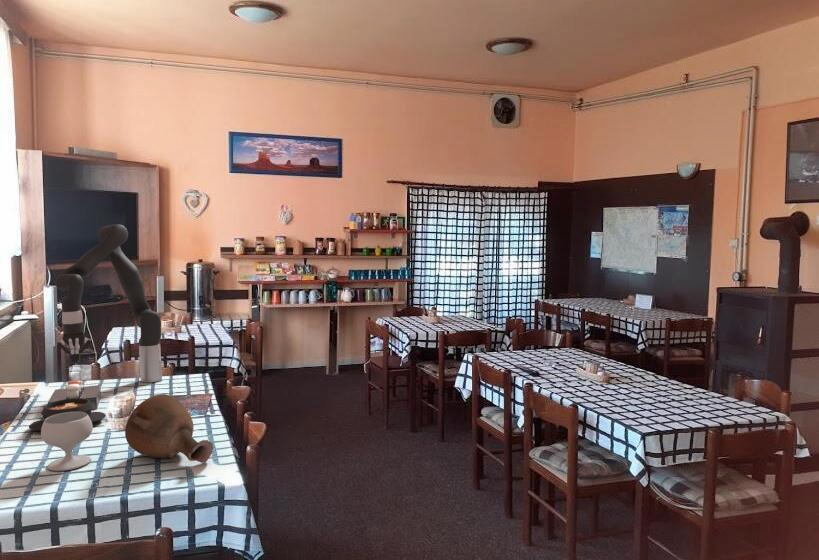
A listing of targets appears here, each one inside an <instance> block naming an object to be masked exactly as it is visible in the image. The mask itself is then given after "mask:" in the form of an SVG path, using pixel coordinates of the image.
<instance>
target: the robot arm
mask: <svg viewBox="0 0 819 560" xmlns="http://www.w3.org/2000/svg"><path fill="white" fill-rule="evenodd" d="M128 237H129V231H128V229H127V227H125V225H122V224H119V223H115V224H114V223H113V224H110V225H105V226H102V227H100V229H99V230H98V239H99V243H98V244H97V245H95V246H94V247H92V248H91V249H89V250H88V251H86V252H85V253H84V254H83V255H81V257H80V258H78V260H77V261H76V262H75V263H74V264H73V265H71V266H69V267H68V268H66V269H65V270H64V271H62V272H61V273H60V274H58V276H57V277H56V280H55V286H56V288H57V289H58V290H60V291H65V292H66V291H67V296H64V297H62V298H61V312H62V313H61V323H62V332H63V335H62V337H61V340H59V341H58V342H57V343H56V344H57V346H58V347H59V348H60V349H61V350H62V351H64V353H66V354H70V355H71V356H70V357H71V362H72V363H73V364H78V363H79V362H80V360H81V357H80V354H81V353H83V352H84V351H85V350H86V348H88V346H89V345H90V344H91V341H92V339H91V338H88V337H86V334H85V331H84V318H83V312H82V301H81V299H82V297H83V291H84V287H85V286H84V279H83V278H86V277H88V276H89V275H90V274H92V272H93V271H94V270H95V269H96V267H97V266H99V265H100V264H101V262H102V261H104V260H105V259H106V258H107V257H108V258H109V261H110V262H111V265H112V266H113V269H114V271H115V273H116V276H117V279H118V281H119V283H120V286H121V288H122V290H123V292H124V295H125V296H126V298H127V300H128V303H129V305H130V308H131V311H132V315H133V317H134V321H135V323H136V325H137V327H139V328H140V337H139V339H138V351H139V353H138V355H139V368H140V369H139V370H140V371H139V372H140V382H141V383H145V384H146V383H155V382H156V383H157V382H160V381H163V371H162V369H163V368H162V357H161V355H162V353H161V338H162V320H161V316H160V315H159V313H158V312H156V311H153V310H152V309H151V307H150V305H149V303H148V301H147V298H146V293H145V286H144V280H143V279H142V276H141V273H140V271H139V269H138V267H137V266H136V264H135V263H133V262H132V261H131V260H130V259H129V258H128V257H127V256H126V255H125V253H124V252H123V251H122V248H121V246H122V244H124V243H125V242H126V241H127V240H128ZM83 342H84V345H83V346H82V347H81V348H80V345H81V344H82V343H83ZM65 344H66V345H67V346H68V347H69V348H68V347H67V346H66V345H65Z"/></svg>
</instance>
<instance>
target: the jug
mask: <svg viewBox="0 0 819 560" xmlns="http://www.w3.org/2000/svg"><path fill="white" fill-rule="evenodd" d="M193 421H194V420H193V418H192V416H191V414H190V413H189V411H188V410H187V408H186V407H185V405H184V404H183V403H181V402H180V401H179V400H178V399H177V398H175V397H174V396H172V395H170V394H167V393H160V394H159V393H158V394H155V395H152V396H150V397H148V398H146V399H144V400H143V401H141V402H140V403H139V404H138V405H137V406H136V407H135V408H134V409H133V411H132V412H131V413H130V415H129V416H128V418H127V421H126V425H125V428H124V434H125V440H126V442H127V444H128V446H129V447H130V448H131V449H132V450H134V451H135V452H137V453H138V454H140V455H142V456H145V457H150V458H155V459H159V458H160V459H164V458H169V459H172V458H173V457H174V456H176V455H177V454H179V453H181V454H183V455H184V457H186V458H187V460H188V461H190V462H195V461H197V462H198V463H200V464H202V463H203V464H204V463H207V461H208V460H209V459H210V457H211V455H212V454H213V452H214V451H213V450H214V445H213V443H212V441H209V439H203V440H200V441H197V440H195V438H194V437H193V435H194V422H193Z"/></svg>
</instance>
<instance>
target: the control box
mask: <svg viewBox="0 0 819 560" xmlns="http://www.w3.org/2000/svg"><path fill="white" fill-rule="evenodd" d="M101 397H102V390H101V385H100V384H97V385H89V386H84V388H83V390H81V394H79V398H83V399H88V400H90V402H91V404H92V405H93V408H92V409H91V411H93V410H95V411H96V410H98V407H99V404H100V401H101ZM64 399H67V390H66V389H65V388H59V389H54V390H53V393H52V394H51V396H50V398H49V399H48V401H47V404H49V403H52V402H55V401H59V400H64Z"/></svg>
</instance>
